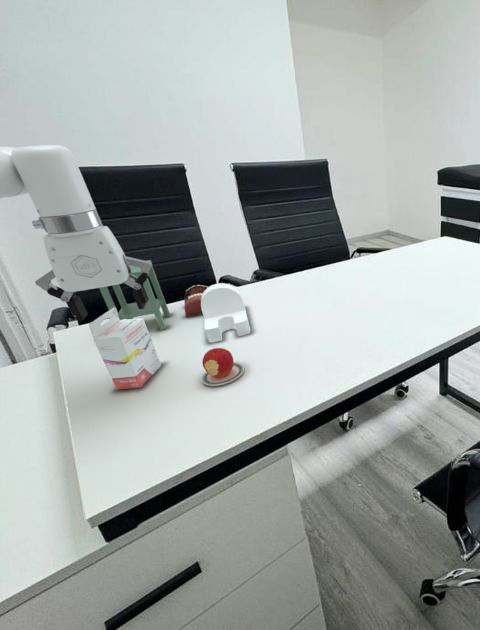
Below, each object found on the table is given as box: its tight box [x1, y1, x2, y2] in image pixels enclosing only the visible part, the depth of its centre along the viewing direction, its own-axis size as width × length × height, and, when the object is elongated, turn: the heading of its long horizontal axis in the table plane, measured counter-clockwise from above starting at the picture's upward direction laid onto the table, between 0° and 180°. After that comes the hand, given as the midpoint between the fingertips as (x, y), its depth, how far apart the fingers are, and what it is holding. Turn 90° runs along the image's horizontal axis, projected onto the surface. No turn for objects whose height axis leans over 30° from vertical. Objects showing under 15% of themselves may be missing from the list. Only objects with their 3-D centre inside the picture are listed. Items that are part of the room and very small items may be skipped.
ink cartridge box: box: [88, 306, 162, 390], centre depth 78 cm, size 9×5×15 cm, turn 6°
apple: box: [201, 347, 245, 387], centre depth 78 cm, size 8×8×6 cm
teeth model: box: [183, 284, 209, 318], centre depth 110 cm, size 8×6×12 cm
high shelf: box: [98, 259, 171, 331], centre depth 99 cm, size 10×10×16 cm
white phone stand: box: [201, 282, 252, 344], centre depth 99 cm, size 10×18×11 cm, turn 27°
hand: (113, 312), depth 74 cm, fingers open, 9 cm apart
